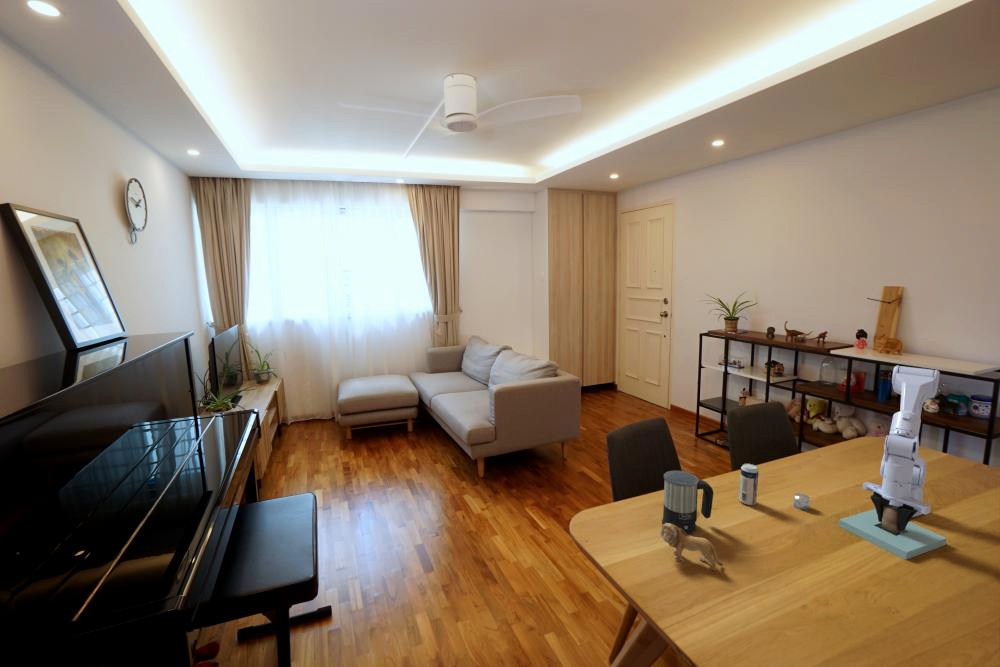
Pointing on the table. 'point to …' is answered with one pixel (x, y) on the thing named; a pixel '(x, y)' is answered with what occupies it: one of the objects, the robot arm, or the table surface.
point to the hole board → (902, 545)
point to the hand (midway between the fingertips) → (891, 525)
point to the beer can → (748, 484)
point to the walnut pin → (890, 519)
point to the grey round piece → (801, 501)
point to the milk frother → (685, 500)
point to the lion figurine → (688, 543)
